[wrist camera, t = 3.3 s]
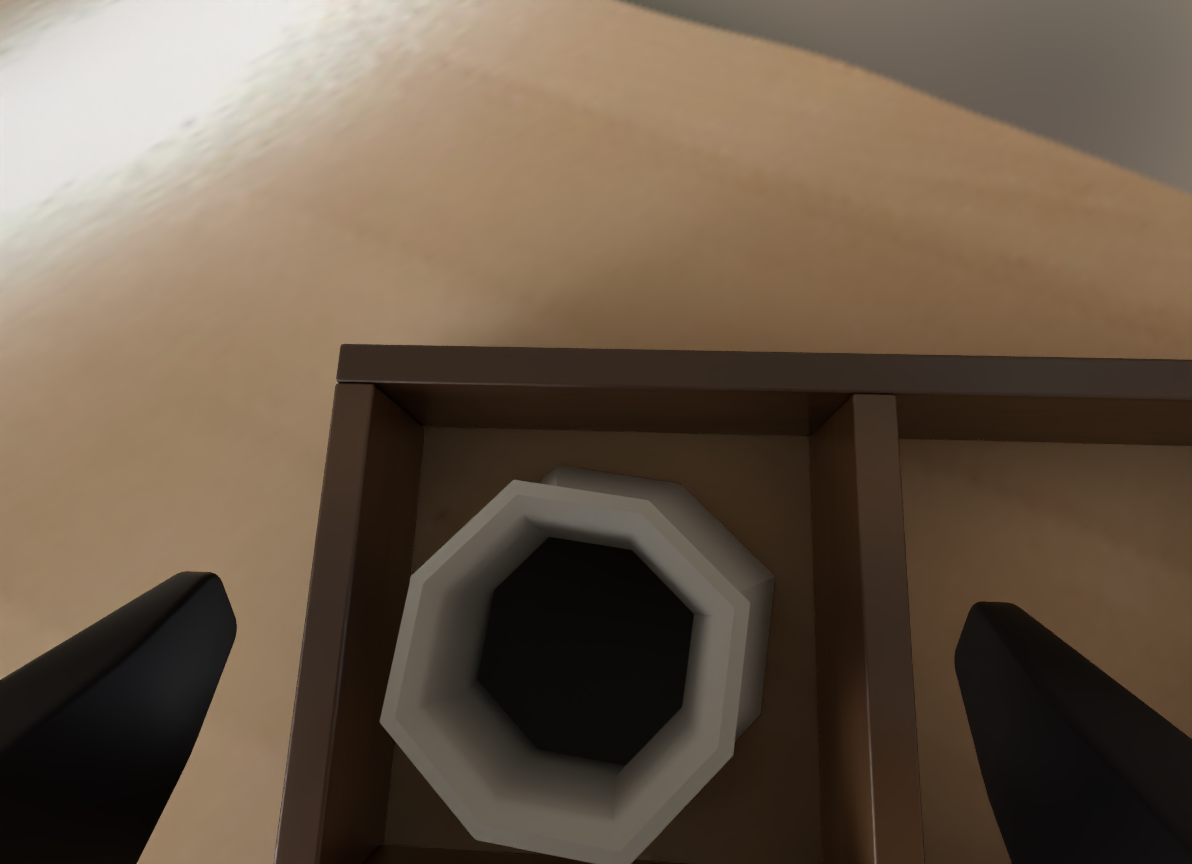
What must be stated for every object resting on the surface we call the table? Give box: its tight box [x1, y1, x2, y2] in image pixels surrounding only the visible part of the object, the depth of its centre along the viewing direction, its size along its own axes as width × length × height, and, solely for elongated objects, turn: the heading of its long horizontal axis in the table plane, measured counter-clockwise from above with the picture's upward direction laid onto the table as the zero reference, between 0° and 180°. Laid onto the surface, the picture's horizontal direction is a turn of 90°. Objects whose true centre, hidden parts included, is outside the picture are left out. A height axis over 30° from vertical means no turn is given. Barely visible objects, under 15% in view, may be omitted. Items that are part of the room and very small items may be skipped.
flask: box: [380, 465, 775, 864], centre depth 11 cm, size 7×7×10 cm
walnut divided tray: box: [274, 344, 1192, 864], centre depth 14 cm, size 11×20×4 cm, turn 88°
